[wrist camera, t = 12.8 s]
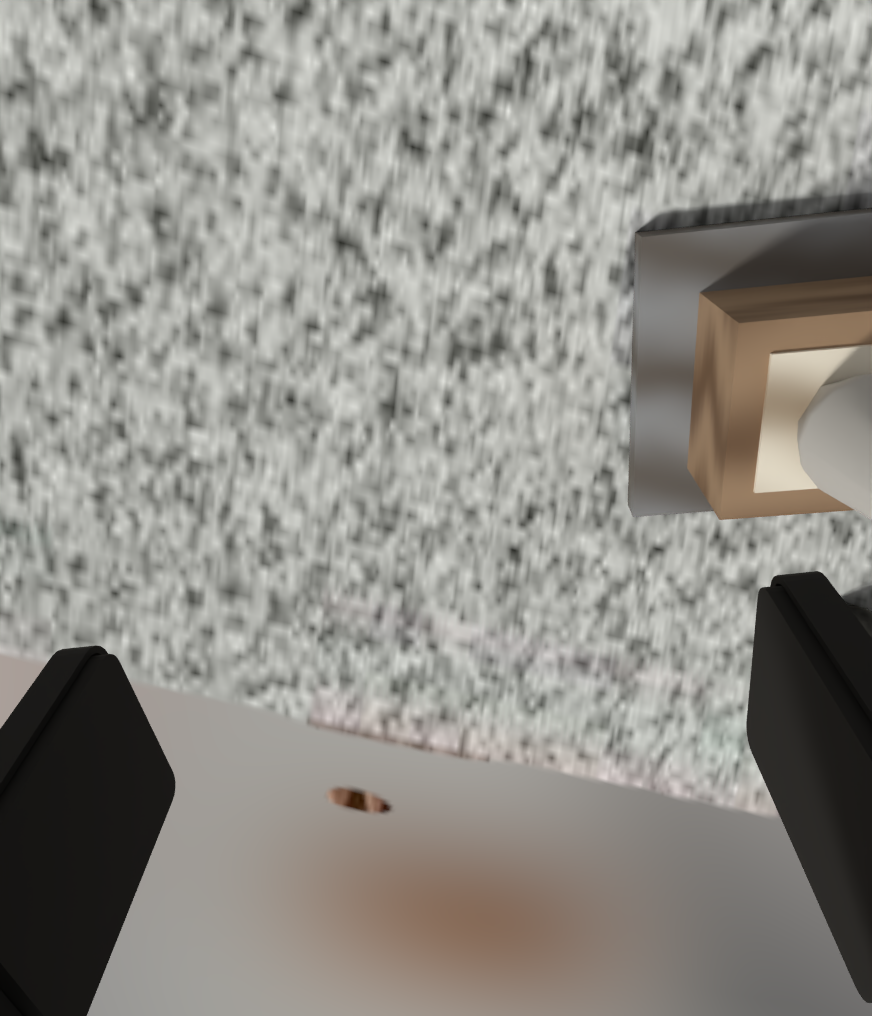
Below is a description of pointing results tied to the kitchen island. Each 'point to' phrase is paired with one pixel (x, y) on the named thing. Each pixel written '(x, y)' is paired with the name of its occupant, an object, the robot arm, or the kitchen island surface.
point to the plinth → (675, 326)
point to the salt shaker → (840, 441)
